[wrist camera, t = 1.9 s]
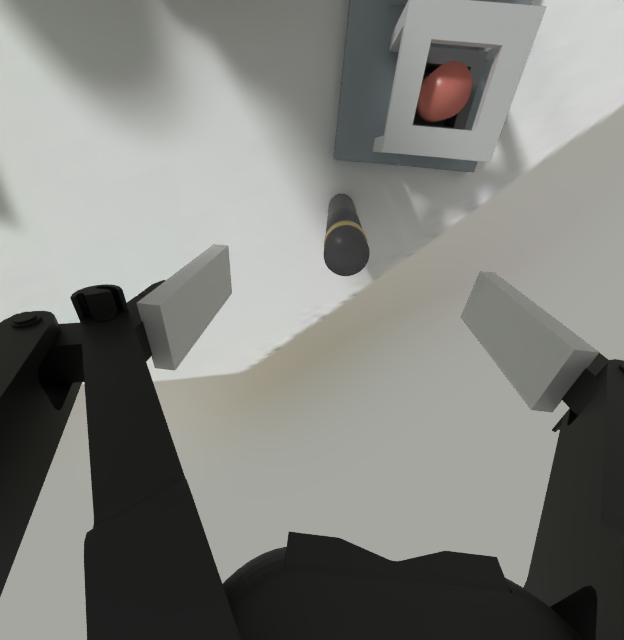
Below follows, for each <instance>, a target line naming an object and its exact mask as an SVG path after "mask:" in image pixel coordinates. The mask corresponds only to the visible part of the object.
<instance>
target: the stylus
mask: <svg viewBox="0 0 624 640" xmlns="http://www.w3.org/2000/svg"><path fill="white" fill-rule="evenodd" d="M368 259H369V247H368V244H367V239H366V236H365V233H364V231H363V229H362V227H361V224H360V221H359V218H358V216H357V213H356V210H355V207H354V204H353V201H352V199H351V198H350V197H349V196H348V195H345V194H338V195H336V196H334V197H333V198H332V199H331V201H330V203H329V209H328V218H327V228H326V236H325V241H324V260H325V263H326V265H327V267H328V268H329V269H330V270H331V271H332V272H334V273H335V274H337V275H341V276H350V275H354V274H356V273H358V272H360V271H361V270H362V269H363V268H364V267H365V265H366V264H367V262H368Z"/></svg>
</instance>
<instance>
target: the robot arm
mask: <svg viewBox="0 0 624 640" xmlns="http://www.w3.org/2000/svg"><path fill="white" fill-rule="evenodd" d="M231 294H232V288H231V275H230V262H229V250H228V246H226V245H216V244H213V245H212V246H211V247H210V248H208V249H207V250H206V251H204V252H203V253H202V254H200V255H199V256H198V257H196V258H195V259H194V260H192V261H191V262H190V263H188V264H187V265H186V266H184V267H183V268H182V269H181V270H179V271H178V272H177V273H175V274H174V275H173V276H171V277H170V278H169V279H167V280H163V281H160V282H158V283H155V284H152V285H151V286H149V287H148V288H147V289H145V290H144V291H143V292H141V293H140V294H138V296H136V297H134V298H133V299H132V300H130V301H129V302H127V303H126V300H125V297H124V294H123V290H122V289H121V288H120V287H119V286H115V285H95V286H91V287H86V288H83V289H81V290H78V291H77V292H75V293H73V294H72V296H71V300H72V303H73V305H74V308H75V310H76V312H77V315H78V317H79V319H80V323H68V324H58V322H57V320H56V318H55V316H54V314H52V313H51V312H47V311H33V312H23V313H20V314H16V315H13V316H12V317H10V318H8V319H5V320H3V321H2V322H1V323H0V596H1V593H2V591H3V588H4V585H5V583H6V580H7V578H8V575H9V572H10V570H11V567H12V564H13V562H14V559H15V556H16V554H17V551H18V549H19V546H20V544H21V541H22V538H23V536H24V533H25V530H26V528H27V525H28V523H29V520H30V517H31V515H32V512H33V509H34V507H35V504H36V501H37V499H38V496H39V493H40V491H41V489H42V486H43V483H44V481H45V478H46V475H47V473H48V470H49V467H50V465H51V462H52V460H53V457H54V455H55V452H56V449H57V447H58V444H59V441H60V439H61V436H62V434H63V431H64V428H65V426H66V423H67V420H68V417H69V415H70V413H71V410H72V407H73V405H74V402H75V400H76V397H77V394H78V392H79V389H80V386H81V384H82V382H85V395H86V409H87V424H88V439H89V452H90V466H91V481H92V494H93V509H94V527H93V529H92V530H90V531H89V532H87V534H86V538H85V541H84V570H85V595H86V618H87V640H624V361H622V360H616V359H615V360H608V359H606V358H605V357H604V356H603V355H601V354H600V353H599V352H598V351H597V350H596V349H595V348H593V347H592V346H591V345H589V344H588V343H587V342H585V341H584V340H583V339H581V338H580V337H579V336H577V335H576V334H575V333H573V332H572V331H571V330H570V329H568V328H567V327H566V326H564V325H563V324H562V323H560V322H559V321H558V320H556V319H555V318H554V317H552V316H551V315H550V314H548V313H547V312H546V311H544V310H543V309H542V308H540V307H539V306H538V305H537V304H535V303H534V302H533V301H531V300H530V299H529V298H527V297H526V296H525V295H523V294H522V293H521V292H520V291H518V290H517V289H515V288H514V287H513V286H512V285H510V284H509V283H508V282H506V281H505V280H504V279H502V278H501V277H500V276H498V275H497V274H496V273H492V272H482V271H480V272H479V275H478V277H477V279H476V282H475V284H474V287H473V289H472V291H471V294H470V296H469V298H468V301H467V303H466V306H465V308H464V310H463V313H462V315H461V318H462V319H463V321H464V322H465V323H466V325H467V326H468V327H469V329H470V330H471V331H472V333H473V334H474V335H475V337H476V338H477V339H478V341H479V342H480V343H481V344H482V345H483V347H484V348H485V350H486V351H487V352H488V354H489V355H490V356H491V358H492V359H493V360H494V362H495V363H496V364H497V365H498V367H499V368H500V369H501V371H502V372H503V374H504V375H505V376H506V377H507V379H508V380H509V381H510V383H511V384H512V385H513V387H514V388H515V389H516V391H517V392H518V393H519V395H520V396H521V397H522V399H523V400H524V401H525V403H526V404H527V405H528V407H529V408H530V409H531V410H538V411H546V412H553V411H554V410H555V408H556V407H557V406H558V404H559V403H560V402H561V401H562V400H563V401H564V402H565V403H566V404H567V405H568V407H569V408H570V409H569V410H568V411H567V412H566V413H565V415H564V416H563V417H562V418H561V419H560V421H559V422H558V423H557V424H556V426H555V427H554V428H553V429H552V431H554V432H556V431H557V430H560V433H559V438H558V442H557V447H556V452H555V456H554V461H553V465H552V470H551V474H550V478H549V483H548V488H547V492H546V497H545V501H544V506H543V510H542V515H541V519H540V524H539V528H538V533H537V537H536V542H535V546H534V551H533V555H532V560H531V565H530V569H529V574H528V578H527V581H526V583H525V585H524V587H523V588H522V587H521V586H519V585H517V584H515V583H514V582H512V581H510V580H508V579H506V578H505V577H504V575H503V572H502V570H501V567H500V565H499V562H498V559H497V557H491V556H483V555H475V554H467V553H458V552H450V551H443V552H438V553H434V554H429V555H425V556H420V557H416V558H411V559H407V560H403V561H391V560H388V559H386V558H384V557H381V556H379V555H377V554H374V553H372V552H370V551H368V550H365V549H363V548H361V547H359V546H356V545H354V544H352V543H350V542H347V541H345V540H343V539H340V538H336V537H328V536H319V535H311V534H302V533H295V532H289V535H288V543H287V547H283V548H279V549H275V550H272V551H269V552H267V553H264V554H262V555H260V556H258V557H256V558H255V559H253V560H251V561H249V562H248V563H246V564H245V565H244V566H242V567H241V568H239V569H238V570H237V571H236V572H235V573H234V574H233V575H231V576H230V577H229V578H228V579H227V580H226V581H225V582H224V583H223V584H222V582H221V579H220V576H219V573H218V570H217V567H216V564H215V562H214V558H213V556H212V553H211V550H210V547H209V544H208V541H207V538H206V535H205V532H204V529H203V526H202V523H201V520H200V517H199V515H198V512H197V509H196V506H195V503H194V500H193V497H192V494H191V491H190V488H189V486H188V483H187V480H186V479H185V476H184V473H183V470H182V467H181V464H180V461H179V458H178V456H177V452H176V449H175V446H174V443H173V440H172V438H171V435H170V432H169V429H168V426H167V423H166V420H165V417H164V414H163V411H162V408H161V405H160V402H159V399H158V396H157V393H156V390H155V387H154V384H153V381H152V378H151V375H150V372H149V369H148V366H147V363H146V361H147V360H148V359H149V358H150V357H151V356H152V359H153V363H154V366H155V368H159V369H168V370H176V368H177V367H178V366H179V364H180V363H181V362H182V360H183V359H184V358H185V356H186V355H187V353H188V352H189V351H190V349H191V348H192V347H193V345H194V344H195V343H196V341H197V340H198V339H199V337H200V336H201V334H202V333H203V332H204V330H205V329H206V328H207V326H208V325H209V324H210V322H211V321H212V319H213V318H214V317H215V315H216V314H217V313H218V311H219V310H220V309H221V307H222V306H223V304H224V303H225V302H226V300H227V299H228V298H229V296H230V295H231Z"/></svg>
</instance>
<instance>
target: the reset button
mask: <svg viewBox="0 0 624 640" xmlns="http://www.w3.org/2000/svg"><path fill="white" fill-rule="evenodd" d="M471 89H472V77H471V74H470V71H469V69H468V68H467V67H466V66H465V65H464V64H463V63H461V62H457V61H451V62H447V63H445V64H443V65H441V66H440V67H438V68H437V69H436V70H435V71H433V72H432V73H431V74H430V75H428V76H427V77H426V78H425V79H424V80H423V81H422V84H421V89H420V93H419V98H418V102H417V107H416V113H417V115H418V117H419V118H420V119H421V120H423V121H425V122H429V123H432V122H437V121H440V120H444V119H447V118H450V117H452V116H454V115H456V114H457V113H458V112H459V111H460V110H461V109H462V108H463V107H464V106H465V104H466V103H467V101H468V99H469V96H470V93H471Z"/></svg>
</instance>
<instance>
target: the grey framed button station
mask: <svg viewBox="0 0 624 640" xmlns="http://www.w3.org/2000/svg"><path fill="white" fill-rule="evenodd" d="M531 3H532V0H350V6H349V16H348V25H347V35H346V45H345V54H344V64H343V74H342V83H341V93H340V103H339V112H338V122H337V131H336V141H335V151H334V159H337V160H348V161H359V162H370V163H380V164H391V165H402V166H413V167H423V168H434V169H445V170H456V171H466V172H474V170H475V167H476V164H477V161H483V162H490V161H491V158H492V155H493V153H494V150H495V147H496V144H497V142H498V139H499V136H500V133H501V131H502V128H503V125H504V122H505V120H506V117H507V114H508V111H509V109H510V106H511V103H512V100H513V97H514V95H515V92H516V89H517V86H518V84H519V81H520V78H521V75H522V73H523V70H524V67H525V64H526V62H527V59H528V56H529V53H530V51H531V48H532V45H533V42H534V40H535V37H536V34H537V31H538V28H539V26H540V23H541V20H542V17H543V15H544V12H545V9H546V6H535V5H531ZM451 61H457V62H461V63H463V64H464V65H465V66H466V67H467V68H468V69H469V71H470V74H471V77H472V89H471V93H470V96H469V99H468V101H467V103H466V104H465V106H464V107H463V108H462V109H461V110H460V111H459V112H458V113H457V114H456V115H454V116H452V117H450V118H447V119H444V120H440V121H437V122H432V123H429V122H425V121H423V120H421V119H420V118H419V117H418V115H417V113H416V107H417V102H418V98H419V93H420V89H421V84H422V81H423V80H424V79H425V78H426V77H427V76H428V75H430V74H431V73H432V72H433V71H435V70H436V69H437V68H438V67H440V66H441V65H443V64H445V63H447V62H451Z"/></svg>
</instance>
